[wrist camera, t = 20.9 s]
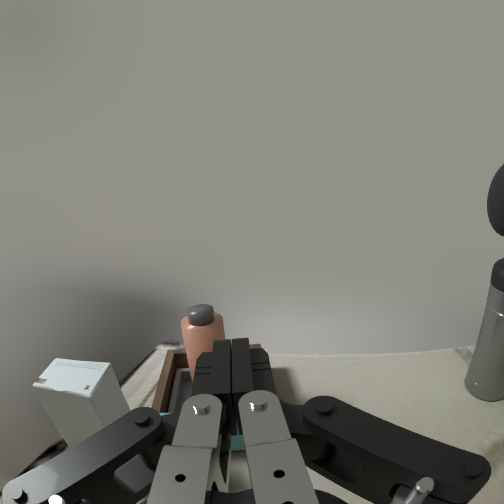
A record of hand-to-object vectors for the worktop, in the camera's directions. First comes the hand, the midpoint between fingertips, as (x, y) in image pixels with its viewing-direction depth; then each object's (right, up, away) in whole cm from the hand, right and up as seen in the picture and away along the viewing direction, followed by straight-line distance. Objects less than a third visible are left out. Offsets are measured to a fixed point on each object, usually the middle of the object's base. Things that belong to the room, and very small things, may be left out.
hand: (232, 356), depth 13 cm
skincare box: (-16, -22, +16) cm, 32 cm away
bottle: (-4, -17, +27) cm, 32 cm away
